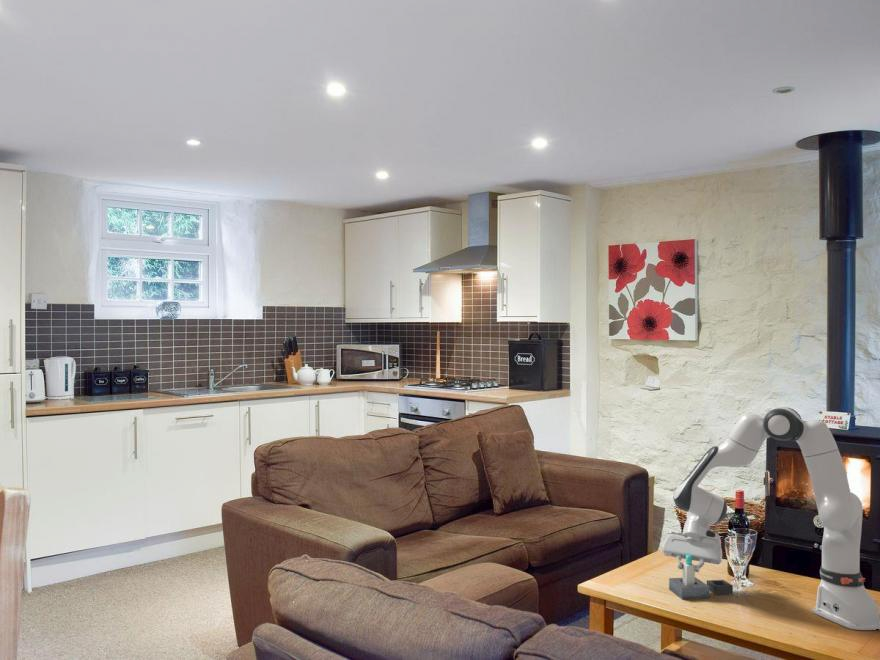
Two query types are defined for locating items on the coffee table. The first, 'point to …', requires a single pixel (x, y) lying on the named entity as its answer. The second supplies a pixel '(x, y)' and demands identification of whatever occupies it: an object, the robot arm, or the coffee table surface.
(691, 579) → the plug
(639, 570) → the coffee table surface
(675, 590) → the port block
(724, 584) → the holster
